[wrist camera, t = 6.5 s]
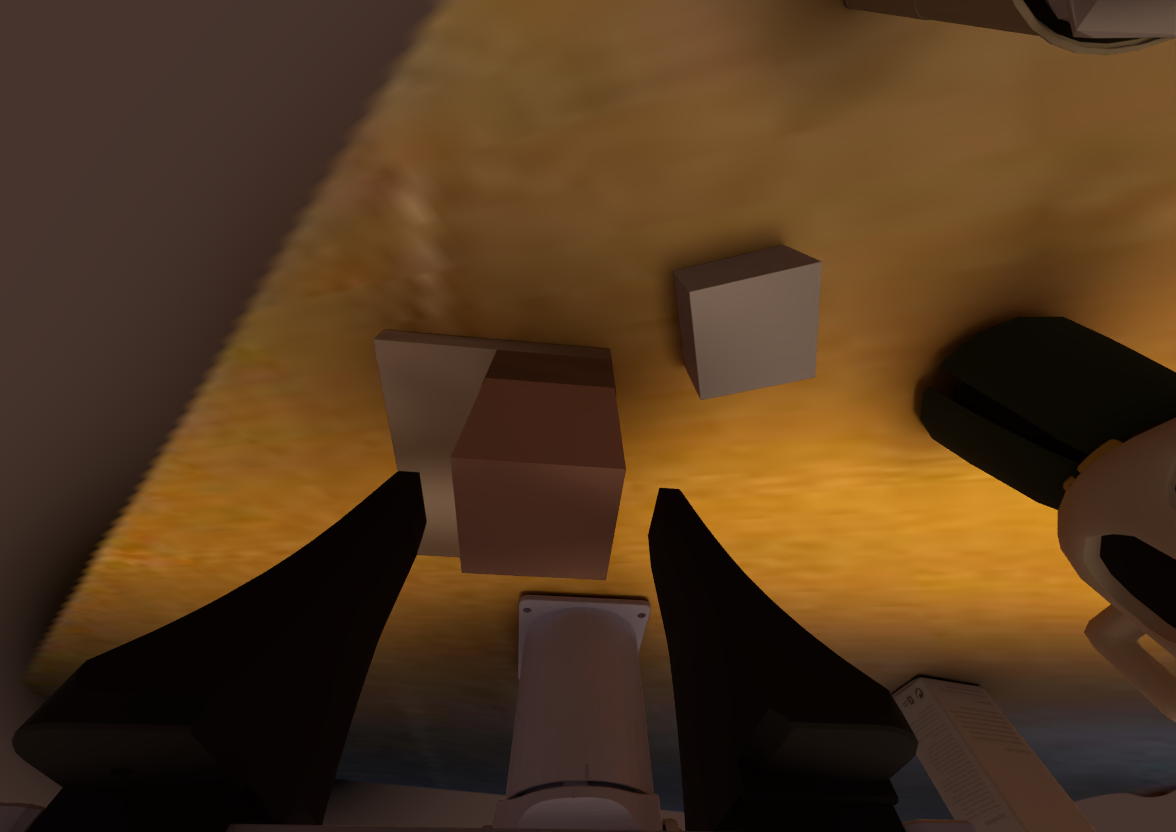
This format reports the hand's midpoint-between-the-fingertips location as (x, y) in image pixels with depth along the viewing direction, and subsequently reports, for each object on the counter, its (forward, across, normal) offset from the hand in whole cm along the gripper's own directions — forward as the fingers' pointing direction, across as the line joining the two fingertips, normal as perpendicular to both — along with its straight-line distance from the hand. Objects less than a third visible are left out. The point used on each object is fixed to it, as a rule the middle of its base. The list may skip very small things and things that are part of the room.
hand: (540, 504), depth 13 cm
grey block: (+7, -7, -5) cm, 11 cm away
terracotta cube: (+3, 0, -1) cm, 3 cm away
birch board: (+6, +2, +3) cm, 8 cm away
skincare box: (+7, -31, +23) cm, 39 cm away
